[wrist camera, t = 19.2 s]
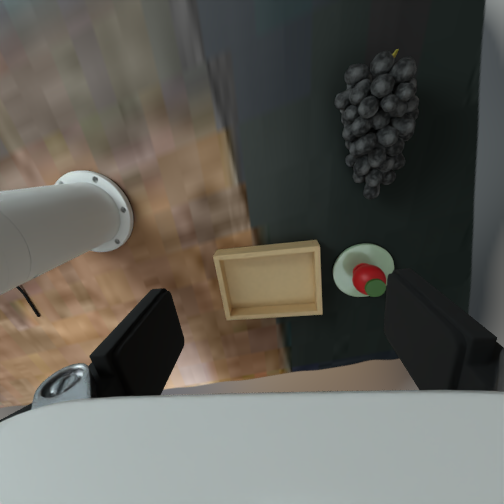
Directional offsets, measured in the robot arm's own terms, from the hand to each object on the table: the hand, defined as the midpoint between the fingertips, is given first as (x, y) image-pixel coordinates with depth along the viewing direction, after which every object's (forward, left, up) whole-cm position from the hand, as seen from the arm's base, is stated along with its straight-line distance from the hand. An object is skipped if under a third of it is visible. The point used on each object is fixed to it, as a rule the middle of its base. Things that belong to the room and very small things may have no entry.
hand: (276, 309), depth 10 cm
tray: (-2, -12, -26) cm, 29 cm away
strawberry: (+12, -12, -26) cm, 31 cm away
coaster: (+13, -12, -26) cm, 31 cm away
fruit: (+12, +7, -26) cm, 30 cm away
